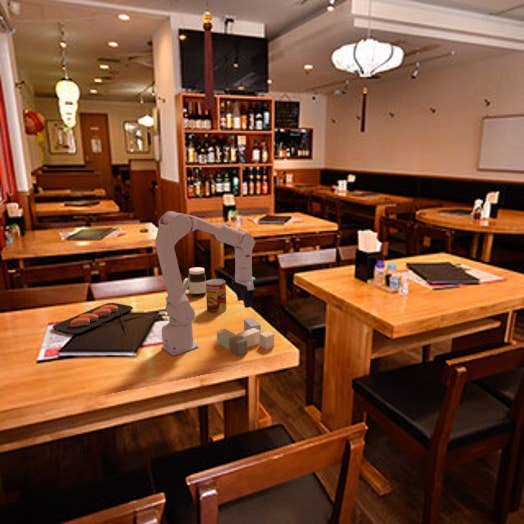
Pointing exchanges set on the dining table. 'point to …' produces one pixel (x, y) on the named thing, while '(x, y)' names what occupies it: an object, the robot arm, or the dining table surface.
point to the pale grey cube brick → (266, 340)
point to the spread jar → (196, 282)
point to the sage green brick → (225, 338)
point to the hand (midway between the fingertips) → (244, 303)
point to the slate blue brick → (251, 324)
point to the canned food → (216, 295)
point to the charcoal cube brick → (239, 346)
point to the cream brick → (250, 336)
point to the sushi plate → (83, 320)
